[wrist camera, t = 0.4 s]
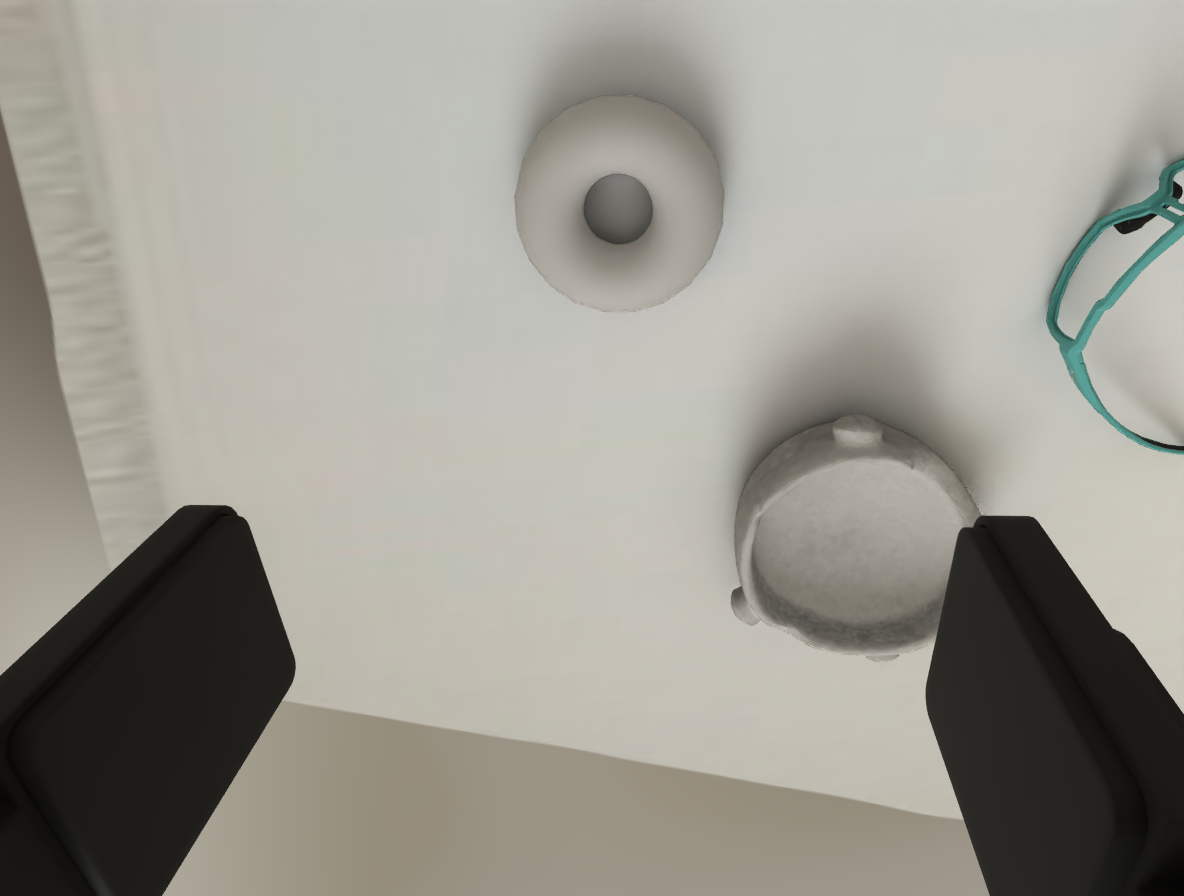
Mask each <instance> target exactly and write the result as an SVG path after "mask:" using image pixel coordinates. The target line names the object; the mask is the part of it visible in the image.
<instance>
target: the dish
mask: <svg viewBox="0 0 1184 896" xmlns="http://www.w3.org/2000/svg"><path fill="white" fill-rule="evenodd" d="M980 516H981V514H980V512H979V510H978V508H977V506H976V504H975V503H974V501H973V500H972V498H971V496H970V494H969V493H968V491H967V490H966V488H965V487H964V485H963V484H962V482H961V481H960V480H959V478H958V477H957V475H956V474H955V473H954V471H953V470H952V469H951V468H950V467H949V466H948V465H947V464H946V463H945V462H944V461H943V460H942V458H941V457H940V456H938V455H937V454H936V453H935V452H934V451H932V450H931V449H930V448H929V447H927V446H926V445H924V444H923V443H921V442H920V441H918V440H917V439H915V438H914V437H912V436H910V435H908V434H906V433H904V432H902V431H900V430H898V429H895V428H893V427H890V426H887V425H885V424H880V423H879V422H878V421H876V420H875V419H873V418H870V417H868V416H866V415H863V414H850V415H846V416H843V417H841V418H839V419H838V420H837V421H835V422H831V423H826V424H823V425H819V426H816V427H813V428H810V429H807V430H805V431H803V432H801V433H799V434H797V435H795V436H793V437H792V438H790V439H788V440H786V441H785V442H783V443H782V444H781V445H779V446H778V447H776V448H775V449H774V450H773V451H772V452H771V453H770V454H769V455H768V456H766V457H765V458H764V459H763V461H762V462H761V463H760V464H759V466H758V467H757V468H756V469H755V471H754V472H753V473H752V475H751V477H750V478H749V480H748V482H747V484H746V486H745V488H744V490H743V492H742V494H741V497H740V500H739V503H738V507H737V512H736V519H735V533H734V539H735V556H736V564H737V570H738V575H739V579H740V583H741V587H739V588H737V589H735V590H733V592H732V595H731V606H732V608H733V611H734V613H735V615H736V616H737V617H738V618H739V619H740V620H741V621H743V622H744V623H746V624H749V625H751V626H753V625H755V624H757V623H758V622H759V621H760V620H762V621H763V622H765V623H766V624H767V625H769V626H772V627H775V628H777V629H779V630H782V631H784V632H786V633H788V634H790V635H792V636H794V637H795V638H797V639H799V640H801V641H802V642H804V643H805V644H806V645H808V646H811V647H813V648H816V649H820V650H825V651H828V652H830V653H836V654H843V655H855V656H865V657H867V658H868V659H870V660H873V661H878V662H888V661H892V660H894V659H896V658H897V657H898V656H899V654H901V653H908V652H912V651H915V650H918V649H921V648H924V647H926V646H928V645H931V644H933V643H935V641H936V636H937V631H938V626H939V622H940V617H941V612H942V607H943V603H944V598H945V593H946V588H947V583H948V579H949V574H950V569H951V564H952V560H953V555H954V550H955V545H956V541H957V537H958V533H959V531H960V530H961V528H963V527H973V526H974V523H975V521H976V520H977V518H978V517H980Z"/></svg>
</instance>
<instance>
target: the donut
mask: <svg viewBox="0 0 1184 896" xmlns="http://www.w3.org/2000/svg"><path fill="white" fill-rule="evenodd" d="M610 174H625V175H628V176H632V177H634V178H635V179H637V180H638V181H640V182H641V183H642V184H643V185H644V186H645V188H646V189H647V190H648V192H649V194H650V197H651V200H652V203H653V216H652V219H651V222H650V225H649V227H648V228H647V230H646V231H645V233H644V234H643V235H642V236H641V237H639V238H638V239H637V240H635V241H632V242H629V243H626V244H613V243H610V242H606V241H603V240H602V239H601V238H599V237H598V236H596V235H595V234H594V233H593V232H592V230H591V229H590V228H589V226H588V225H587V222H586V219H585V216H584V201H585V198H586V194H587V193H588V191H589V189H590V188H591V186H592V185H593V184H594V183H595V182H596V181H598V180H599V179H600V178H602V177H604V176H607V175H610ZM514 198H515V210H516V222H517V231H518V233H519V236H520V238H521V241H522V243H523V246H524V248H525V251H526V253H527V256H528V258H529V261H530V262H531V263H532V264H533V266H534V267H535V268H536V269H537V271H538V272H539V273H540V274H541V276H542V277H543V278H544V279H545V281H546V282H547V283H548V284H549V285H550V286H551V287H553V288H554V289H556V290H557V291H558V292H560V293H561V294H563V295H564V296H566V297H567V298H569V299H570V300H572V301H573V302H574V303H577V304H581V305H584V306H587V307H590V308H593V309H597V310H600V311H603V312H636V311H639V310H642V309H645V308H649V307H652V306H655V305H658V304H661V303H664V302H666V301H667V300H669V299H670V298H671V297H673V296H674V295H676V294H677V293H679V292H680V291H681V290H683V289H684V288H686V287H687V286H689V285H690V284H691V282H692V281H693V280H694V279H695V277H696V276H697V275H698V273H699V272H700V271H701V270H702V268H703V267H704V266H705V264H706V263H707V262H708V261H709V259H710V258H711V255H712V253H713V250H714V247H715V244H716V242H717V239H718V236H719V234H720V231H721V228H722V224H723V203H724V189H723V186H722V182H721V178H720V175H719V171H718V167H717V163H716V160H715V157H714V155H713V154H712V152H711V151H710V149H709V148H708V146H707V145H706V143H705V142H704V140H703V139H702V137H701V136H700V134H699V133H698V131H697V130H696V128H695V127H694V126H692V125H691V124H690V123H688V122H687V121H686V120H685V119H683V118H682V117H681V116H679V115H678V114H677V113H675V112H674V111H673V110H672V109H670V108H669V107H668V106H665V105H662V104H659V103H656V102H653V101H650V100H647V99H644V98H641V97H638V96H635V95H622V96H598V97H595V98H593V99H590V100H588V101H585V102H583V103H580V104H578V105H575V106H573V107H570V108H568V109H566V110H564V111H563V112H562V113H561V114H560V115H559V116H557V117H556V118H555V119H554V120H553V121H552V122H551V123H549V124H548V125H547V126H546V127H545V128H544V129H542V130H541V131H540V132H539V134H538V136H537V137H536V139H535V141H534V143H533V144H532V146H531V148H530V149H529V151H528V153H527V154H526V156H525V158H524V160H523V161H522V165H521V170H520V174H519V179H518V183H517V188H516V192H515V197H514Z"/></svg>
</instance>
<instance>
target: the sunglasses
mask: <svg viewBox="0 0 1184 896" xmlns="http://www.w3.org/2000/svg"><path fill="white" fill-rule="evenodd" d="M1182 170H1184V159H1182V160H1180V161H1179V162H1177V163H1175V164H1173V165H1171V166H1169V167H1167V168H1165V169H1164V170H1163V171H1162V173H1161V175H1160V177H1159V180H1160V183H1159V190H1158V191H1157V192H1155V193H1154V194H1153V195H1151V196H1150V197H1149V198H1148V199H1146V200H1145V201H1143V202H1141V203H1138V204H1134V205H1131V206H1128V207H1126V208H1123V209H1118V210H1116V211H1114V212H1112V213H1111V214H1109V215H1107V216H1105V217H1103V218H1101V219H1100V220H1099V221H1098V222H1097V223H1096V224H1095V225H1094V226H1093V227H1092V228H1091V229H1090V231H1089V232H1088V233H1087V234H1086V235H1085V236H1084V238H1083V239H1082V241H1081V242H1080V244H1079V245H1078V247H1077V248H1076V250H1075V251H1074V253H1073V254H1072V256H1071V257H1070V259H1069V260H1068V262H1067V263H1066V265H1065V266H1064V268H1063V270H1062V273H1061V275H1060V278H1059V280H1058V282H1057V285H1056V287H1055V289H1054V292H1053V294H1052V297H1051V299H1050V304H1049V309H1048V313H1047V320H1046V322H1047V325H1048V328H1049V331H1050V333H1051V335H1052V336H1053V338H1054V339H1055V340H1056V341H1057V342H1058V343H1059V344H1060V352H1061V354H1062V356H1063V358H1064V361H1065V363H1066V365H1067V369H1068V372H1069V375H1070V376H1071V378H1072V379H1073V381H1074V383H1075V384H1076V386H1077V387H1078V389H1079V390H1080V391H1081V393H1082V394H1083V396H1084V397H1085V398H1086V399H1087V400H1088V402H1089V403H1090V404H1091V405H1092V406H1093V408H1094V409H1095V410H1096V411H1097V412H1098V413H1099V414H1101V415H1102V416H1103V417H1104V418H1105V419H1106V420H1107V421H1108V422H1109V423H1110V424H1111V425H1113V426H1114V427H1115V428H1116V429H1117V430H1118V431H1119V432H1121V433H1122V434H1124V435H1125V436H1127V437H1128V438H1130V439H1131V440H1133V441H1135V442H1137V443H1138V444H1140V445H1143V446H1145V447H1148V448H1151V449H1153V450H1157V451H1161V452H1167V453H1173V454H1182V455H1184V446H1176V445H1167V444H1163V443H1160V442H1157V441H1153V440H1150V439H1147V438H1144V437H1141V436H1139V435H1137V434H1135V433H1133V432H1132V431H1130V430H1128V429H1127V428H1125V427H1124V426H1123V425H1121V424H1120V423H1119V422H1118V421H1116V420H1115V419H1114V418H1113V417H1112V416H1111V415H1110V414H1109V413H1108V412H1107V410H1106V409H1105V407H1104V406H1103V404H1102V403H1101V401H1100V399H1099V397H1098V396H1097V394H1096V392H1095V390H1094V388H1093V386H1092V384H1091V381H1090V378H1089V375H1088V373H1087V369H1086V365H1085V363H1084V362H1083V361H1084V360H1083V356H1082V352H1081V351H1082V350H1084V347H1085V345H1086V343H1087V341H1088V339H1089V337H1090V335H1091V333H1092V330H1093V329H1094V327H1095V325H1096V324H1097V322H1098V321H1099V319H1100V317H1101V316H1102V314H1103V313H1104V311H1106V310H1108V309H1109V308H1111V307H1112V306H1113V305H1114V304H1115V302H1116V301H1117V300H1118V299H1119V298H1120V296H1121V295H1122V294H1123V293H1124V292H1125V291H1126V289H1127V288H1128V287H1129V286H1130V285H1131V283H1132V282H1133V281H1134V280H1135V279H1136V277H1137V276H1138V275H1139V274H1140V273H1141V272H1142V271H1143V270H1144V269H1145V268H1146V267H1147V266H1148V265H1149V264H1150V263H1151V262H1152V261H1153V260H1155V259H1156V258H1157V257H1158V256H1159V255H1161V254H1162V253H1163V252H1164V251H1165V250H1166V249H1168V248H1169V247H1170V246H1171V245H1172V244H1174V243H1175V242H1176V241H1177V240H1178V239H1180V238H1181V237H1182V236H1183V235H1184V215H1182V216H1179V215H1177V214H1175V213H1173V212H1171V211H1169V210H1167V208H1168V207H1169V206H1172V207H1174V208H1176V209H1178V210H1180V211H1182V212H1184V204H1181V203H1179V201H1178V199H1180V197H1181V196H1182V192H1183V190H1182V187H1181V186H1180V185H1179V184H1177V183H1176V182H1174V181H1173V178H1174V176H1175V174H1177V173H1178V172H1180V171H1182ZM1157 215H1159V216H1162V217H1164V218H1166V219H1167V220H1169V221H1171V222H1173V223H1174V224H1175V225H1174V226H1173V227H1172V228H1171V229H1170V230H1169V231H1167V232H1166V233H1165V234H1164V235H1163V236H1162V237H1160V238H1159V239H1158V240H1157V241H1156V242H1155V243H1154V244H1153V245H1152V246H1151V247H1150V248H1149V249H1148V250H1147V251H1146V252H1145V253H1144V254H1143V255H1142V256H1141V257H1140V258H1139V259H1138V260H1137V261H1136V262H1135V263H1134V264H1133V265H1132V266H1131V267H1130V268H1129V269H1128V270H1127V271H1126V273H1125V274H1124V275H1123V276H1122V277H1121V278H1120V279H1119V280H1118V281H1117V282H1116V284H1115V285H1114V286H1113V287H1112V289H1111V290H1110V291H1109V293H1108V294H1107V295H1106V296H1105V298H1103V299H1101V300H1099V301H1097V302H1096V303H1095V304H1094V306H1093V308H1092V309H1091V311H1090V313H1089V314H1088V316H1087V318H1086V320H1085V321H1084V323H1083V325H1082V327H1081V329H1080V331H1079V333H1078V335H1077V337H1076V339H1075V340H1074V339H1072V338H1070V337H1068V336H1067V335H1065V334H1064V333H1063V332H1062V331H1061V330H1060V328H1059V327H1058V324H1057V318H1058V313H1059V308H1060V303H1061V300H1062V298H1063V295H1064V292H1065V290H1066V287H1067V284H1068V282H1069V279H1070V277H1071V275H1072V274H1073V272H1074V270H1075V268H1076V266H1077V264H1078V263H1079V261H1080V260H1081V258H1082V257H1083V255H1084V254H1085V252H1086V251H1087V249H1088V248H1089V247H1090V246H1091V244H1092V243H1093V242H1094V241H1095V240H1096V239H1097V238H1098V236H1099V235H1100V234H1101V233H1102V232H1103V231H1104V230H1105V229H1106V228H1108V227H1110V226H1112V225H1114V227H1115V228H1116V229H1117V230H1118V231H1119V232H1120V233H1122V234H1128V233H1130V232H1133V231H1136V230H1138V229H1140V228H1142V227H1143V225H1144V224H1145V223H1147V222H1148V221H1150V220H1151V219H1153V218H1154V217H1155V216H1157Z"/></svg>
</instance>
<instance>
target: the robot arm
mask: <svg viewBox="0 0 1184 896" xmlns="http://www.w3.org/2000/svg"><path fill="white" fill-rule="evenodd" d="M295 669H296V666H295V658H294V655H293V652H292V649H291V646H290V643H289V640H288V637H287V634H286V631H285V629H284V626H283V623H282V620H281V617H280V614H279V611H278V608H277V605H276V602H275V599H274V597H273V594H272V591H271V588H270V585H269V582H268V579H267V576H266V573H265V570H264V567H263V565H262V562H261V559H260V556H259V553H258V550H257V547H256V544H255V541H254V538H253V535H252V533H251V530H250V527H249V524H248V522H247V521H246V520H245V519H244V518H243V517H240V516H238V515H237V513H236V511H235V510H234V509H233V508H232V507H229V506H226V505H188V506H184V507H182V508H180V509H179V510H178V511H177V512H175V513H174V514H173V515H172V516H171V517H170V518H169V519H168V520H167V521H166V522H165V523H164V524H163V525H161V526H160V527H159V528H158V529H157V530H156V531H155V532H154V533H153V534H152V535H151V536H150V537H149V538H148V539H146V540H145V541H144V542H143V543H142V544H141V545H140V546H139V547H138V548H137V549H136V550H135V551H134V552H133V553H131V554H130V555H129V556H128V557H127V558H126V559H125V560H124V561H123V562H122V563H121V564H120V565H119V566H118V567H116V568H115V569H114V570H113V571H112V572H111V573H110V574H109V575H108V576H107V577H106V578H105V579H104V580H102V581H101V582H100V583H99V584H98V585H97V586H96V587H95V588H94V589H93V590H92V591H91V592H90V593H89V594H87V596H85V597H84V598H83V599H82V600H81V601H80V602H79V603H78V604H77V605H76V606H75V607H74V608H72V609H71V610H70V611H69V612H68V613H67V614H66V615H65V616H64V617H63V618H62V619H61V620H60V621H59V622H58V623H56V624H55V625H54V626H53V627H52V628H51V629H50V630H49V631H48V632H47V633H46V634H45V635H44V636H43V637H41V638H40V639H39V640H38V641H37V642H36V643H35V644H34V645H33V646H32V647H31V648H30V649H28V650H27V651H26V652H25V653H24V654H23V655H22V656H21V657H20V658H19V659H18V660H17V661H16V662H15V663H14V664H12V665H11V666H10V667H9V668H8V669H7V670H6V671H5V672H4V673H3V674H2V675H1V676H0V896H162V895H163V893H164V891H165V890H166V888H167V887H168V885H169V884H170V882H171V880H172V878H173V877H174V875H175V874H176V872H177V870H178V869H179V867H180V866H181V864H182V862H183V861H184V859H185V857H186V856H187V854H188V852H189V851H190V849H191V848H192V846H193V844H194V843H195V841H196V839H197V838H198V836H199V834H200V833H201V831H202V830H203V828H204V826H205V825H206V823H207V822H208V820H209V818H210V817H211V815H212V813H213V812H214V810H215V808H216V807H217V805H218V804H219V802H220V800H221V799H222V797H223V796H224V794H225V792H226V791H227V789H228V787H229V785H230V784H231V783H232V781H233V779H234V777H235V776H236V774H237V773H238V771H239V769H240V768H241V766H242V765H243V763H244V761H245V760H246V758H247V756H248V755H249V753H250V752H251V749H252V748H253V746H254V745H255V743H256V742H257V740H258V739H259V737H260V735H261V733H262V732H263V730H264V729H265V727H266V725H267V723H268V722H269V720H270V719H271V717H272V716H273V714H274V712H275V711H276V709H277V708H278V706H279V704H280V703H281V701H282V699H283V698H284V696H285V695H286V693H287V691H288V690H289V688H290V686H291V684H292V682H293V679H294V676H295ZM926 706H927V712H928V715H929V719H930V722H931V725H932V728H933V730H934V733H935V736H936V739H937V742H938V745H939V748H940V751H941V754H942V757H943V760H944V763H945V766H946V769H947V771H948V774H949V777H950V780H951V783H952V786H953V789H954V792H955V795H956V798H957V801H958V804H959V807H960V810H961V812H962V815H963V818H964V821H965V824H966V827H967V830H968V833H969V836H970V839H971V842H972V845H973V848H974V851H975V853H976V856H977V859H978V862H979V865H980V868H981V871H982V874H983V877H984V880H985V883H986V886H987V889H988V891H989V894H990V896H1184V714H1183V713H1182V711H1181V710H1180V708H1179V707H1178V706H1177V704H1176V703H1175V701H1174V700H1173V699H1172V697H1171V696H1170V694H1169V693H1168V692H1167V690H1166V689H1165V687H1164V686H1163V685H1162V683H1161V682H1160V680H1159V679H1158V678H1157V676H1156V675H1155V673H1154V672H1153V671H1152V669H1151V668H1150V666H1149V665H1148V664H1147V662H1146V661H1145V659H1144V658H1143V657H1142V655H1141V654H1140V652H1139V651H1138V650H1137V648H1136V647H1135V645H1134V644H1133V643H1132V642H1131V641H1130V640H1129V639H1128V638H1127V637H1126V636H1125V634H1123V633H1121V632H1119V631H1117V630H1115V629H1113V628H1112V627H1111V625H1110V624H1109V622H1108V621H1107V620H1106V618H1105V617H1104V615H1103V614H1102V612H1101V611H1100V610H1099V608H1098V607H1097V605H1096V604H1095V602H1094V601H1093V600H1092V598H1091V597H1090V595H1089V594H1088V592H1087V591H1086V590H1085V588H1084V587H1083V585H1082V584H1081V582H1080V581H1079V579H1078V578H1077V577H1076V575H1075V574H1074V572H1073V571H1072V569H1071V568H1070V567H1069V565H1068V564H1067V562H1066V561H1065V559H1064V558H1063V557H1062V555H1061V554H1060V552H1059V551H1058V549H1057V548H1056V547H1055V545H1054V544H1053V542H1052V541H1051V539H1050V538H1049V537H1048V535H1047V534H1046V532H1045V531H1044V529H1043V528H1042V527H1041V525H1040V524H1039V522H1038V521H1037V520H1036V519H1035V518H1033V517H1030V516H980V517H978V518H977V520H976V521H975V523H974V526H973V527H963V528H961V530H960V531H959V533H958V537H957V541H956V545H955V550H954V555H953V560H952V564H951V569H950V574H949V579H948V583H947V588H946V593H945V598H944V603H943V607H942V612H941V617H940V622H939V626H938V631H937V636H936V641H935V645H934V650H933V655H932V660H931V664H930V669H929V674H928V679H927V684H926Z"/></svg>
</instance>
